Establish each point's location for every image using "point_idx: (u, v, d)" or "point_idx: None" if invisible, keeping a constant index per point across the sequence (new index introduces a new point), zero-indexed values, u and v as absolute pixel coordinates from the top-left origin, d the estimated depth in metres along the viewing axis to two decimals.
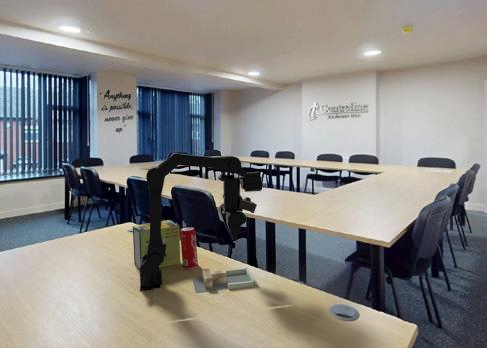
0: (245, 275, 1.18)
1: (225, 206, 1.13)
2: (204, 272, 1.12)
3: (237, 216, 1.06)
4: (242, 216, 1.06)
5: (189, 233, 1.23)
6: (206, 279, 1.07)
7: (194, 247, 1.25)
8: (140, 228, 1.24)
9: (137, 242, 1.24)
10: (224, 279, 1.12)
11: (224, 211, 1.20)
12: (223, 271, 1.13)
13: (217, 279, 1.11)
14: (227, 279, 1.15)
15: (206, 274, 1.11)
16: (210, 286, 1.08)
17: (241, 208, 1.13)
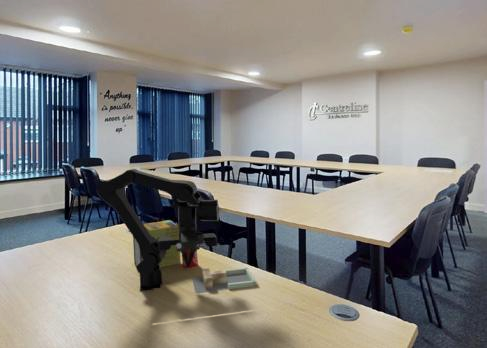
0: (245, 275, 1.18)
1: None
2: (204, 272, 1.12)
3: (158, 241, 1.06)
4: (158, 243, 1.05)
5: None
6: (206, 279, 1.07)
7: None
8: None
9: None
10: (224, 279, 1.12)
11: None
12: (223, 271, 1.13)
13: (217, 279, 1.11)
14: (227, 279, 1.15)
15: (206, 274, 1.11)
16: (210, 286, 1.08)
17: None
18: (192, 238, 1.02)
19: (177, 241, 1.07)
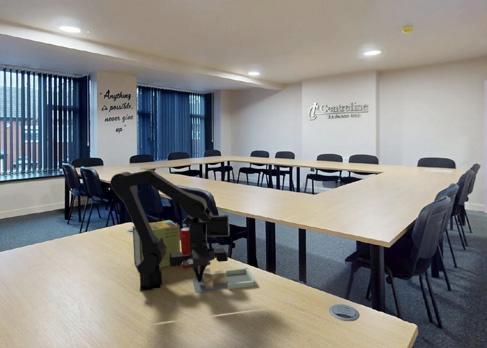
0: (245, 275, 1.18)
1: None
2: (204, 272, 1.12)
3: None
4: None
5: None
6: (206, 279, 1.07)
7: None
8: None
9: (137, 242, 1.24)
10: (224, 279, 1.12)
11: None
12: (223, 271, 1.13)
13: (217, 279, 1.11)
14: (227, 279, 1.15)
15: (207, 274, 1.11)
16: (210, 286, 1.08)
17: (190, 254, 1.06)
18: (203, 254, 1.03)
19: (188, 257, 1.09)
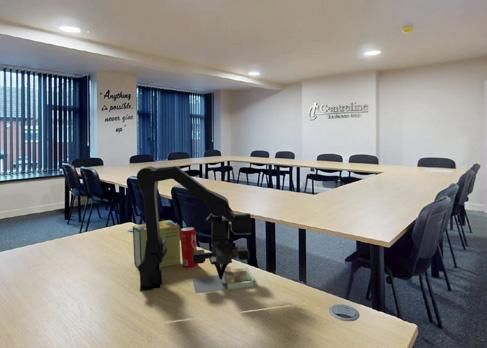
0: None
1: None
2: (225, 270, 1.14)
3: (192, 255, 1.09)
4: (193, 256, 1.08)
5: (189, 233, 1.23)
6: (228, 277, 1.09)
7: (194, 247, 1.25)
8: (140, 228, 1.24)
9: (137, 242, 1.24)
10: (245, 277, 1.13)
11: None
12: (244, 269, 1.14)
13: (238, 276, 1.13)
14: None
15: (228, 271, 1.12)
16: None
17: (213, 252, 1.08)
18: (227, 252, 1.05)
19: (211, 254, 1.10)
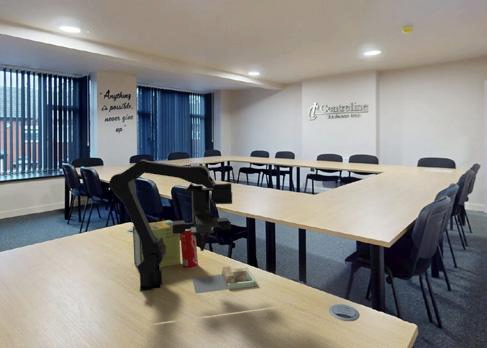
0: None
1: None
2: (225, 270, 1.14)
3: (172, 225, 1.07)
4: (172, 226, 1.05)
5: (189, 233, 1.23)
6: (228, 277, 1.09)
7: (194, 247, 1.25)
8: None
9: (137, 242, 1.24)
10: (245, 277, 1.13)
11: None
12: (244, 269, 1.14)
13: (238, 276, 1.13)
14: None
15: (228, 271, 1.12)
16: None
17: (193, 222, 1.06)
18: (207, 221, 1.02)
19: (191, 225, 1.08)
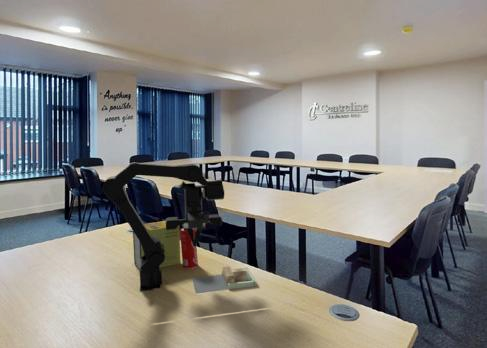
0: None
1: None
2: (225, 270, 1.14)
3: None
4: None
5: None
6: (228, 277, 1.09)
7: (194, 247, 1.25)
8: None
9: (137, 242, 1.24)
10: (245, 277, 1.13)
11: None
12: (244, 269, 1.14)
13: (238, 276, 1.13)
14: None
15: (228, 271, 1.12)
16: None
17: (185, 218, 1.10)
18: (198, 217, 1.06)
19: (184, 221, 1.12)
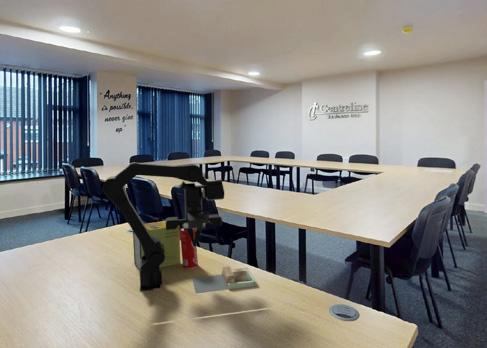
0: None
1: None
2: (225, 270, 1.14)
3: None
4: None
5: None
6: (228, 277, 1.09)
7: (194, 247, 1.25)
8: None
9: (137, 242, 1.24)
10: (245, 277, 1.13)
11: None
12: (244, 269, 1.14)
13: (238, 276, 1.13)
14: None
15: (228, 271, 1.12)
16: None
17: (185, 218, 1.10)
18: (198, 217, 1.06)
19: (184, 221, 1.12)
